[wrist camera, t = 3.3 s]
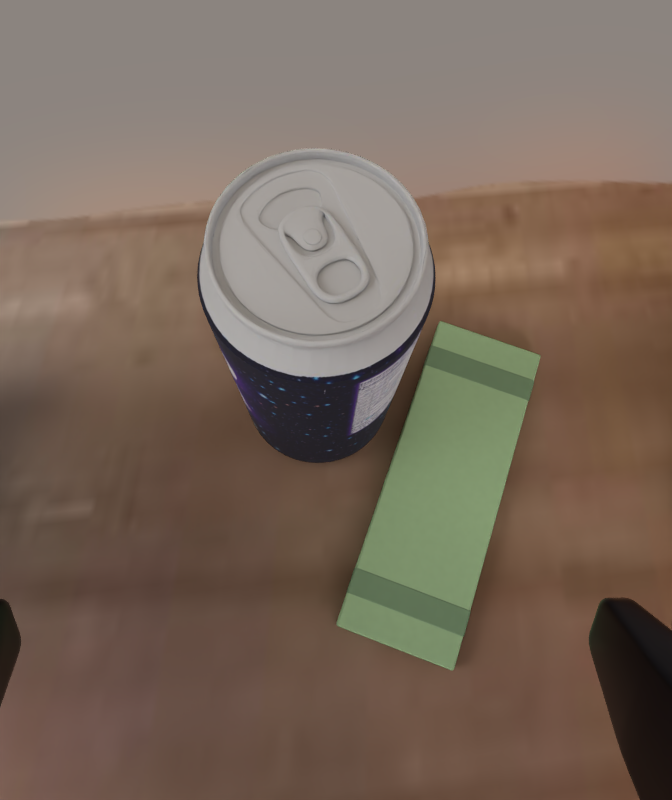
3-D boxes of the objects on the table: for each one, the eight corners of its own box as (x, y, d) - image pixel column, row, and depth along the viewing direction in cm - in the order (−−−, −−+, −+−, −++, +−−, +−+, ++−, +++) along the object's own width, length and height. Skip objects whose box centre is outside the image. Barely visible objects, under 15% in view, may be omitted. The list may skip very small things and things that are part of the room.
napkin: (537, 359, 25) (542, 354, 24) (450, 669, 21) (454, 671, 20) (436, 325, 25) (439, 319, 24) (335, 624, 21) (335, 625, 21)
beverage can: (340, 314, 25) (358, 96, 13) (411, 422, 24) (498, 281, 12) (226, 377, 24) (139, 199, 12) (293, 493, 23) (266, 413, 11)
